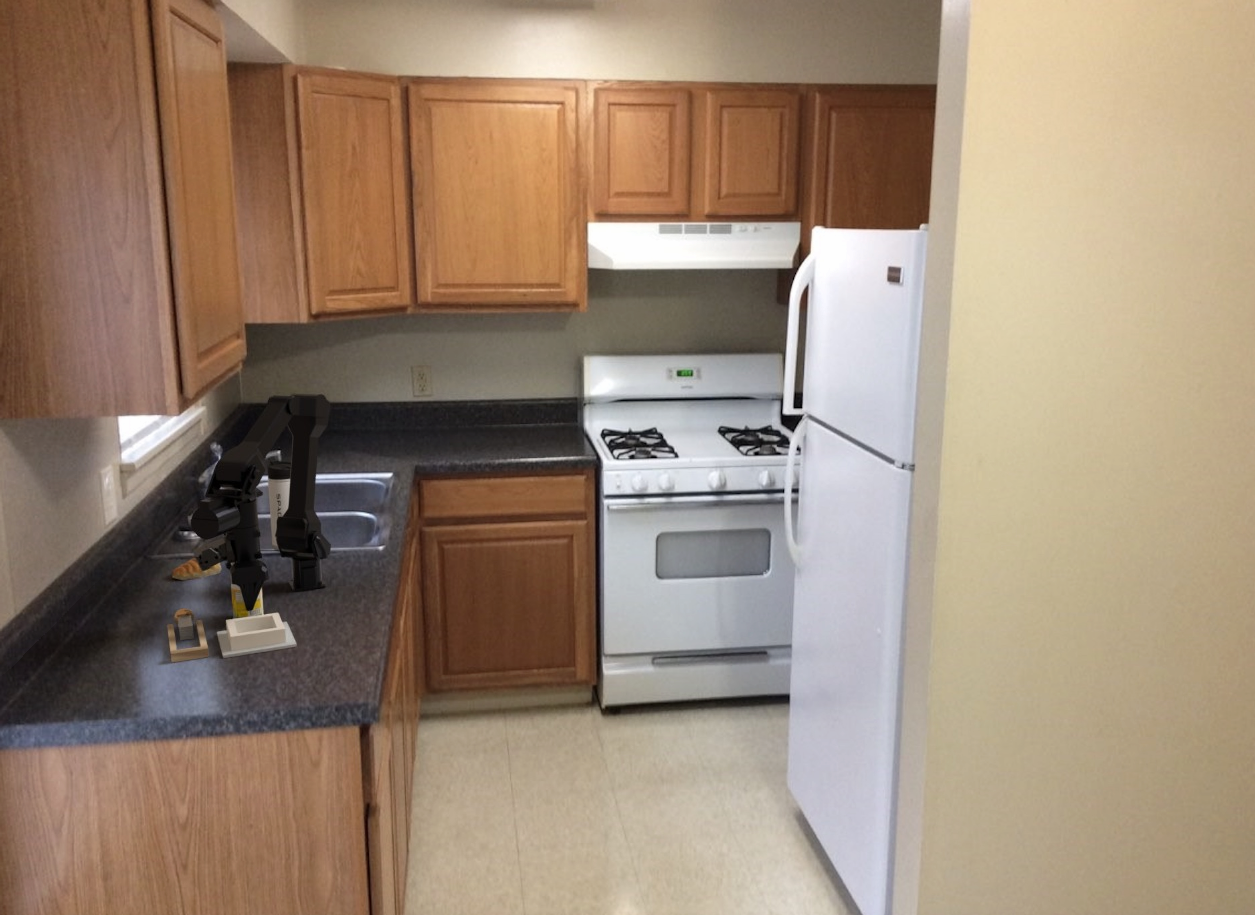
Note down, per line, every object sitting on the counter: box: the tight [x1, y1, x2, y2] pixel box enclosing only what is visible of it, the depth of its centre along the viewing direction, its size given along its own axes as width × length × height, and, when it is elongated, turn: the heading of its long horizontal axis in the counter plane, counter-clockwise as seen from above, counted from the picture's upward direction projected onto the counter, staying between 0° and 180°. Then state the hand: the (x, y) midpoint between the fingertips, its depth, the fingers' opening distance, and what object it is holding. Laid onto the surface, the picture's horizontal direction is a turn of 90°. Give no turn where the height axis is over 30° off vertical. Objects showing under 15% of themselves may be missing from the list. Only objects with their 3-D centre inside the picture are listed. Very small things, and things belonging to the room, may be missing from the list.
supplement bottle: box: [230, 583, 264, 619], centre depth 191 cm, size 5×5×10 cm
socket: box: [216, 612, 298, 659], centre depth 181 cm, size 12×12×3 cm
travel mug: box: [266, 459, 291, 551], centre depth 235 cm, size 6×7×20 cm
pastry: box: [172, 557, 222, 581], centre depth 217 cm, size 9×7×4 cm
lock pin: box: [173, 608, 195, 641], centre depth 185 cm, size 8×3×3 cm, turn 26°
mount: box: [166, 619, 210, 663], centre depth 180 cm, size 16×6×2 cm, turn 26°
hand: (247, 605), depth 191 cm, fingers closed on supplement bottle, 5 cm apart
